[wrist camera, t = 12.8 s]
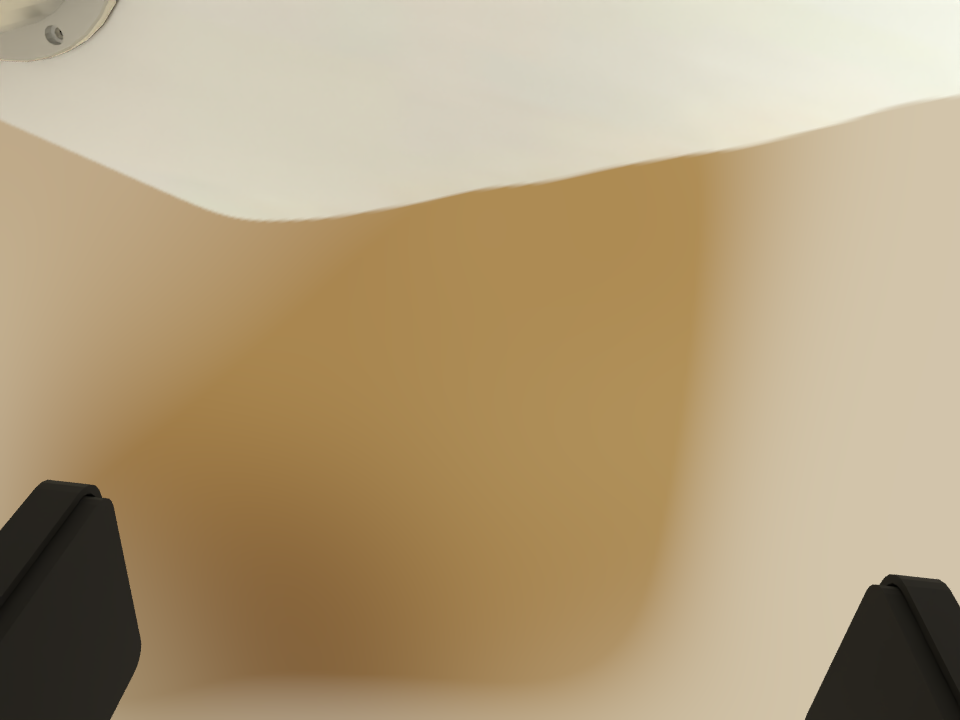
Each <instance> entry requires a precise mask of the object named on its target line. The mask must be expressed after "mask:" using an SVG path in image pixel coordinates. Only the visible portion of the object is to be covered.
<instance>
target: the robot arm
mask: <svg viewBox="0 0 960 720" xmlns="http://www.w3.org/2000/svg"><path fill="white" fill-rule="evenodd" d="M115 3H116V0H0V60H1V61H14V62H31V61H36V60H42V59H47V58H52V57H54V56H57V55H60V54H62V53H65V52H68V51H70V50H72V49H73V48H75V47H77V46H78V45H80V44H82V43H83V42H85V41H87V40H88V39H89V38H90V37H91V36H92V35H93V34H94V33H95V32H96V31H97V30H98V29H99V28H100V27H101V26H102V25H103V24H104V22H105V21H106V19H107V17H108V15H109V14H110V12H111V10H112V9H113V7H114V5H115ZM60 31H61V32H62V34H63V36H62V35H61V34H60ZM140 652H141V640H140V634H139V629H138V625H137V619H136V614H135V609H134V605H133V599H132V595H131V590H130V585H129V580H128V575H127V570H126V566H125V561H124V555H123V550H122V546H121V540H120V536H119V531H118V526H117V521H116V516H115V511H114V507H113V504H112V501H111V500H110V499H107V498H102V496H101V494H100V491H99V489H98V488H97V487H96V486H95V485H89V484H81V483H72V482H63V481H53V480H46V481H44V482H42V483H40V484H39V485H38V486H37V487H36V488H35V489H34V490H33V492H32V493H31V494H30V495H29V496H28V498H27V499H26V500H25V501H24V502H23V504H22V505H21V506H20V507H19V508H18V510H17V511H16V512H15V513H14V514H13V516H12V517H11V518H10V520H9V521H8V522H7V523H6V524H5V525H4V527H3V528H2V529H1V530H0V720H110V719H111V717H112V715H113V713H114V711H115V709H116V707H117V705H118V703H119V701H120V699H121V697H122V695H123V693H124V692H125V689H126V688H127V686H128V684H129V682H130V680H131V678H132V676H133V674H134V672H135V670H136V667H137V664H138V661H139V657H140ZM805 720H960V606H959V605H958V603H957V601H956V599H955V597H954V596H953V594H952V592H951V590H950V589H949V588H948V587H947V585H946V584H945V583H943V582H942V581H941V580H938V579H929V578H920V577H910V576H902V575H891V574H889V575H888V576H886V577H885V578H884V579H883V580H882V582H881V583H880V585H871V586H870V587H869V588H868V589H867V591H866V593H865V595H864V597H863V599H862V601H861V603H860V605H859V607H858V610H857V611H856V613H855V616H854V618H853V620H852V622H851V624H850V626H849V628H848V630H847V632H846V634H845V636H844V638H843V640H842V643H841V645H840V647H839V649H838V651H837V653H836V655H835V657H834V659H833V661H832V663H831V665H830V667H829V670H828V672H827V674H826V676H825V678H824V680H823V682H822V684H821V686H820V688H819V690H818V693H817V695H816V697H815V699H814V701H813V703H812V705H811V707H810V709H809V711H808V713H807V716H806V718H805Z"/></svg>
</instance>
